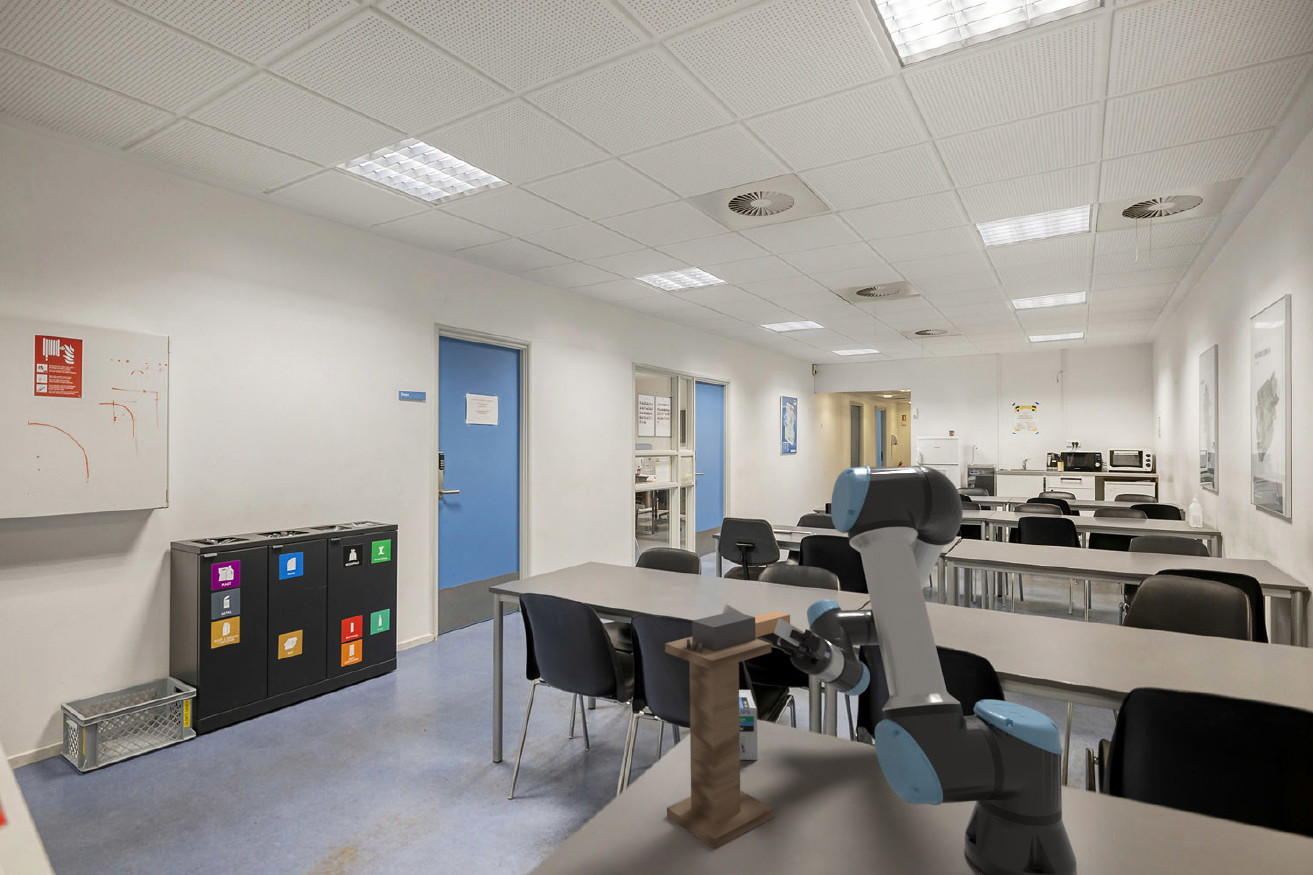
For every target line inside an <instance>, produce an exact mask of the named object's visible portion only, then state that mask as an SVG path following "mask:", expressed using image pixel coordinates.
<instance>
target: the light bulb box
mask: <svg viewBox="0 0 1313 875" xmlns="http://www.w3.org/2000/svg"><path fill="white" fill-rule="evenodd" d="M739 727H740V761H748V760H749V761H757V760H759V759H758V753H759V752H758V708H757V705H756V702H755V700H754V698H753V694H752V690H751V689H739Z"/></svg>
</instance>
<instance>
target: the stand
mask: <svg viewBox="0 0 1313 875" xmlns="http://www.w3.org/2000/svg"><path fill="white" fill-rule="evenodd" d="M755 639H756V640H753V641H750V642H746V643H742V644H739V645H735V646H732V647H728V648H724V649H721V650H717V651H712V650H709V649H706V648H703V647H702V643H698V646H697V645H696V641H692V636H690V637H684V638H682V639H681V638H680V639H676V640H674V641H669V642H665V643H664V652H665V653H666V654H670V655H671V656H674V657H678V658H679V659H682V660H685V661H688V663H689V728H690V729H689V732H690V733H689V734H690V738H689V739H690V745H689V746H690V796H689V797H687V798H685V799H683V800H680V801H678V802H676V803H674V804H672V805H669V806H667V807H666V817H667V818H668V819H670V820H671V821H673V822H675V824H678V825H679V826H681V827H682V828H684V830H686V831H687V832H689V833H691V834H693V836H695V837H696V838H697V839H698V838H699V840H701V841H702V842H704V843H705V844H706V845H708V846H710V847H711V848H713V849H716V848H719V847H720V846H722V845H724V844H726V843H728V842H730V841H732V840H734V839H735V838H738V837H739V836H742V835H743V834H745V833H746V832H748V831H750V830H753V829H754V828H756V827H758V826H760V825H762V824H764V823H766V822H767V821H770V820H771V819H773V818H774V808H773V807H772V806H770V805H767V804H766V803H764V802H762V801H760V800H758V799H757V798H756V797H753V796H751V795H750V794H748V793H746V792H744V791H742V790H741V760H740V727H739V690H740V670H739V669H740V662H744V661H746V660H751V659H754V658H756V657H760V656H764V655H767V654H770V653H772V645H771V643H768V642H765V641H762V640H760V639H758V638H755ZM737 836H738V837H737Z"/></svg>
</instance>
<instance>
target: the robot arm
mask: <svg viewBox="0 0 1313 875" xmlns="http://www.w3.org/2000/svg"><path fill="white" fill-rule="evenodd" d="M832 489H833V491H832V494H831V504H830V506H831V508H830V512H831V513H830V514H831V521H832V524H833V526H834V527H835V528H834V529H835V530H836V531H837V532H838V533H842V534H847V537H848V542H849V545H850V547H851V548H853V549H854V550H856V551H857V552H859V553H860V557H861V561H862V562H861V563H862V567H863V572H864V575H865V576H864V577H865V580H866V581H865V582H866V585H867V586H866V587H867V591H868V595H869V601H870V607H871V608H868V609H850V610H849V609H847V610H845V609H844V610H843V609H842V607H840V605H839V603H838V602H837V601H836V600H832V599H828V598H827V599H826V598H824V599H819V600H817V601H815V602H814V603H811V604H810V605H809V607H808V608H807V610H806V616H807V617H806V618H807V622H808V628H809V629H804V630H805V631H803V630H801V629H800V628H798V627H796V626H794V625H793V624H791V623H790V624H789V623H788V622H786V621H784V620H783V619H780V618H779V619H778V622H777V625H776V628H775V631H774V632H773V633H770V634H766V635H763V636H759V637H755V639H758V640H761V641H765V642H768V643H771V647H773V648H776V649H779V650H781V651H783V653H785V654H787V655H789V657H790V661H791V664H792V665H793V666H794V667H795V668H796V669H798V670H799V671H802V672H803V673H804V674H807V675H810V676H811V677H813V678H815V679H814V681H815V682H816V683H820V682H822V683H824V684H826V685H828V686H829V687H831V688H833V689H835V691H836V692H838V693H842V694H845V695H847V696H851V697H853V696H854V697H855V696H860V695H861V694H862V693H863V692H865V691H866V690H867V688H868V686H869V685H870V680H871V676H870V671H869V669H868V667H867V665H866V664H865V663H863V661H861V660H860V659H859V658H858V657H857V654H856V651H855V649H854V647H856V646H858V647H859V646H877V645H878V646H879V650H880V654H881V660H882V664H883V665H882V666H883V668H884V674H885V679H886V685H887V688H888V694H889V698H888V700H887V702H886V703H885V704H884V706H883V707H882V713H883V719H882V720H881V721H879V722H878V723H877V724H876V726H875V729H874V736H875V738H874V748H875V753H876V756H877V760H878V763H879V766H880V768H881V771H882V773H883V774H882V775H884V778H885V779H886V782H887V783H888V785H889V786H890V787H891V789H892V790H893V792H894V793H895V795H897V796H898V797H899V798H900V799H901V800H903V801H904V802H906V803H908V804H911V805H931V806H939V805H941V804H953V803H955V804H956V803H964V802H965V803H966V802H967V803H968V802H975V803H974V806H973V809H972V812H971V815H970V817H969V820H968V823H967V826H966V829H965V831H964V852H965V854H966V857H967V858H968V859H969V861H970V862H971V864H972V865H973V866H974V867H975V868H977V870H979V871H980V872H982V874H985V875H1077V874H1078V872H1077V863H1078V862H1077V858H1076V854H1075V853H1074V850H1073V847H1072V844H1071V840H1070V838H1069V836H1068V832H1067V830H1066V827H1065V825H1064V822H1063V821H1064V820H1063V810H1062V808H1063V803H1062V802H1063V801H1062V800H1063V797H1062V795H1063V794H1062V792H1063V791H1062V788H1063V787H1062V755H1063V749H1062V742H1061V732H1060V728H1059V727H1058V725H1057V723H1056V722H1055V721H1054V720H1053V719H1051V718H1050V717H1048V716H1047V715H1045V714H1044V713H1042V712H1040V711H1038V710H1036V709H1033V708H1030V707H1028V706H1025V705H1021V704H1018V703H1014V702H1010V701H1006V700H999V699H980V700H979V701H977V702H975V704H974V707H973V712H974V714H973V715H964V714H963V709H962V705H961V702H960V701H959V700H957V699H956V698H955V697H953V695H951V693H949V692H948V691H947V688H946V684H945V679H944V675H943V672H942V667H941V666H942V665H941V663H940V658H939V654H938V651H937V645H936V642H935V637H934V633H933V629H932V625H931V621H930V617H929V612H928V609H927V608H928V607H927V605H926V600H925V596H924V593H923V592H924V591H923V590H924V588H925V586H926V584H927V582H928V580H929V578H930V576H931V574H932V571H933V569H934V568H935V566H936V564H937V562H938V560H939V558H940V555H941V553H942V552H943V551H944V550H943V549H944V547H945V546H948V545H950V544H952V543H953V542H954V540H955V539H956V537H957V535H958V533H959V531H960V528H961V524H962V521H963V514H964V512H963V509H964V508H963V503H962V498H961V495H960V492H959V491H958V489H957V486H956V485H955V484H954V483H953V481H952V480H951V479H949V477H947V476H946V474H944V473H942V472H941V471H939V470H938V469H935V468H932V467H929V466H926V465H911V466H907V465H906V466H905V465H904V466H901V465H900V466H869V465H863V466H861V467H860V466H859V467H858V466H857V467H848V468H846V469H844V470H843V471H841V472H840V474H839V475H838V476H837V478H836V480H835V483H834V486H833V488H832ZM732 611H734V612H738V613H742V614H744V613H743V612H741V611H740V610H737V609H736V608H735V607H732V606H731V605H728V604H725V605H724V609H723V611H722V613H721V614H723V613H728V612H732Z"/></svg>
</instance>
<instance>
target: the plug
mask: <svg viewBox="0 0 1313 875" xmlns="http://www.w3.org/2000/svg"><path fill="white" fill-rule="evenodd" d="M722 613H723V612H722ZM722 613H719V614H716V615H715V614H714V615H712V616H706V617H702V618H699V619H694V620H692V621H691V623H692V624H691V625H692V626H691V628H692V630H691V631H692V633H691V635H692V636H691V637H692V641H696V645H697V646H698V643H702V647H703V648H706V649H709V650H712V651H717V650H721V649H724V648H728V647H732V646H735V645H739V644H742V643H746V642H750V641H753V640H756V639H757V638H756V637H759V636H763V635H766V634H770V633H773V632H774V631H775V628H776V625H777V622H778V619H779V618H780V619H783V620H784V621H786V622H788V623H789V624H791V614H790V613H785V612H781V611H778V610H774V611H770V612H765V613H762V614H757V615H754V616H752V615H748V614H745V613H743V612H741V613H738V612H734V611H732V612H728V613H723V614H722ZM742 613H743V614H742Z"/></svg>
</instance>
